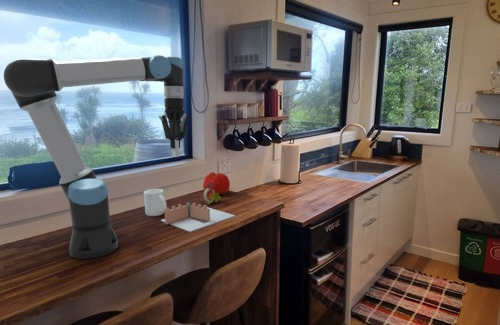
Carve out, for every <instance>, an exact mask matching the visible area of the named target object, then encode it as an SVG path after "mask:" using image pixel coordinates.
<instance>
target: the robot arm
mask: <svg viewBox="0 0 500 325" xmlns="http://www.w3.org/2000/svg"><path fill="white" fill-rule="evenodd" d="M183 62H184V61H183V60H182V58H181V57H180V56H179V57H178V56H165V55H152V56H145V57H143V56H142V57H126V58H108V59H89V60H74V61H73V60H69V61H58V60H56V59H54V58H38V59H37V58H18V59H15V60H13V61H11V62H9V63H8V64H7V65H6V67H5V68H4V72H3V80H4V84H5V85H6V87H7V89H8V90H9V91H11V94H12V95H13V97H14V100H15V102H16V103H17V105H18V107H19V109H21V110H22V111H25V112H27V113H28V115H29V117H30V119H31V120H32V123H33V124H34V126H35V129H36V130H37V132H38V134H39V137H40V138H41V140H42V142H43V144H44V146H45V148H46V150H47V152H48V153H49V155H50V158H51V160H52V161H53V163H54V166H56V169H57V171H58V173H59V176H60V178H59V182H58V184H59V185H60V187H61V189H62V192H63V193H64V195H65V197H66V199H67V201H68V204H69V209H70V218H71V224H72V225H71V226H72V233H71V238H70V242H69V246H68V252H69V253H68V254H69V256H70V257H71V258H74V259H78V260H88V259H96V258H100V257H103V256H106V255H109V254H111V253H113V252H114V251H116V250H117V249H118V248H119V241H118V237H117V235H116V233H115V231H114V228H113V227H112V224H111V214H110V204H109V196H108V194H109V189H108V186H107V182H106V181H104V180H103V179H98V178H97V176H96V174H95V172H94V170H93V168H91V167H88V166H87V165H86V164H85V161H84V160H83V158H82V156H81V153H80V151H79V150H78V147H77V145H76V143H75V141H74V139H73V137H72V134H70V131H69V129H68V127H67V125H66V123H65V121H64V118H63V117H62V115H61V113H60V110H59V109H58V106H57V104H56V101H57V100H58V96H57V94H56V92H61V90H62V89H63V88H70V87H71V88H72V87H81V86H93V85H95V86H96V85H104V84H113V83H115V84H116V83H126V82H137V81H139V82H160V83H162V82H163V94H164V95H163V96H164V97H165V98H164V113H162V114H160V115H159V116H158V118H159V120H160V121H161V124H162V128H163V132H164V136H165V139H166V140H169V143H170V149H171V152H172V155H171V156H172V157H175V158H177V157H180V148H181V141H182V140H183V139H185V136H186V131H187V130H186V129H187V124H188V120H189V118H190V115H188V114H186V113H185V110H184V106H185V105H184V104H185V100H184V98H183V97H184V96H185V95H184V63H183Z"/></svg>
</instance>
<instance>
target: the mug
mask: <svg viewBox="0 0 500 325" xmlns="http://www.w3.org/2000/svg"><path fill="white" fill-rule="evenodd" d="M143 201H144V211H145V212H144V213H145V214H146V216H148V217H157V216H161V215H164V214H165V212H164V211H166V208H167V200H166V199H165V197H164V189H161V188H151V189H150V188H149V189H147V190H144V191H143Z"/></svg>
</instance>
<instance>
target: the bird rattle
mask: <svg viewBox="0 0 500 325" xmlns="http://www.w3.org/2000/svg"><path fill="white" fill-rule="evenodd" d="M205 185H206V186H207V187H208V188H207V189H206V190H204V192H203V199H204V201H205V202H206V204H207V205H211V203H213V202H215V203H218V201H219V200H221V199H222V197H221V195H219V194H218V193H216V194H215V191H214V190H213V187H214V186H215V183H214V182H213V181H212V182H209V183H206V184H205Z"/></svg>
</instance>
